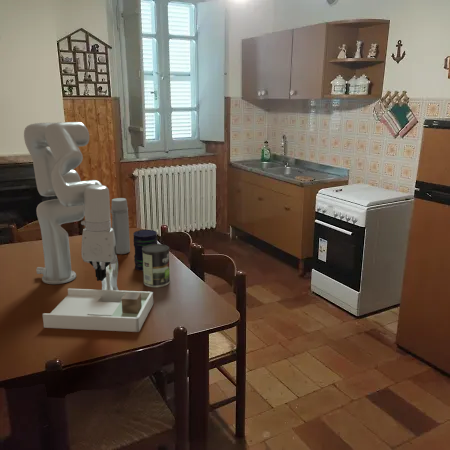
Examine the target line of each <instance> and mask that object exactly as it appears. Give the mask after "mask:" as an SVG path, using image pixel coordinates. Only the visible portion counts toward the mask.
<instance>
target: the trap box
mask: <svg viewBox="0 0 450 450" xmlns="http://www.w3.org/2000/svg"><path fill="white" fill-rule="evenodd" d="M126 292H131V293H141V303H142V307H141V309H140V311H139V312H138V314H130V313H122V297H123V296H124V295H125V293H126ZM154 304H155V303H154V291H142V290H141V291H140V290H139V291H137V290H119V289H118V290H102V289H95V288H94V289H90V288H70V287H69V288H67V294H66V296H65V297H64V299H62V300H61V301H60V302H59V303H58V304H57V306H55V308H54V309H52V311H51V312H50V313H45V312H44V313H42V321H43V328H44V329H45V328H47V329H68V330H85V331H87V330H89V331H107V332H108V331H110V332H111V331H112V332H115V331H116V332H132V333H139V332H140V331H141V329H142V327H143V325H144V324H145V323H144V322H145V321H146V319H147V317H148V315H149V313H150V311H151V309H152V308H153V305H154Z"/></svg>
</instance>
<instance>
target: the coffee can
mask: <svg viewBox="0 0 450 450" xmlns="http://www.w3.org/2000/svg"><path fill="white" fill-rule="evenodd" d="M142 253H143V271H142V272H143V285H144V286H146V287H149V288H162V287H165V286H167V285H169V284H170V283H171V280H170V279H171V278H170V277H171V276H170V275H171V273H170V246H168V245H167V244H162V243H158V244H151V245H147V246H144V247H143V248H142Z"/></svg>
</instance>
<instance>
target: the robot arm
mask: <svg viewBox="0 0 450 450" xmlns="http://www.w3.org/2000/svg"><path fill="white" fill-rule="evenodd" d="M23 140H24V144H25V146H26V148H27V151H28V153H29V155H30V157H31V160H32V164H33V169H34V170H33V171H34V177H35V183H36V189H37V191H38V193H39V195H40V196H42V197H55V196H56V197H57V198H54V199H49V200H44V201H42V202H40V203H39V204H37V207H36V210H35V211H36V216H37V220H38V223H39V227H40V233H41V240H42V248H43V249H42V250H43V259H44V267H42V266H37V267H36V270H35V271H36V274H38V275H39V274H40V275H42V276H41V279H42V280H41V281H42V282H43V283H44V284H49V285H61V284H65V283H67V284H68V283H70V282H71V281H74V280H75V279H76V277H77V273H76V272H75V271H74V270H72V262H71V261H72V260H71V251H70V249H71V248H70V240H69V233H68V231H66V229H65V228H64V227H62V225H63V224H68V223H74V222H79V221H81V222H80V224H81V225H82V226H84V228H83V230H82V235H81V258H82V260H83V262H84V263H87V264H90V265H91V266H92V267H93V269H94V270H95V277H96V281H98V282H102V281H103V280H104V278H105V277H106V267H107V266H108V265H109V264H115V263H116V262H117V259H118V257H117V258H116V255H117V256H118V254H117V248H116V240H115V235H114V231H113V228H112V220H111V206H110V205H111V204H110V202H111V201H110V199H111V198H110V189H109V187H107V185H103V184H102V182H100V181H99V180H96V179H90V180H81V179H82V178H81V177H80V174H79V173H78V171H77V170H75V169H76V168H78V167H79V166H80V165H81V164H82V162H83V160H84V157H83V156H84V155H83V153H82V151H81V150H80V147H85V146H87V145H88V144H89V142H90V132H89V129H88V127H87V126H86V125H85V124H84V123H83V122H81V121H67V122H66V121H64V122H61V121H60V122H59V121H58V122H37V123H36V122H35V123H31V124H29V125H27V126H26V127H25V128H24V131H23ZM83 219H84V220H83ZM100 262H101V265H100Z"/></svg>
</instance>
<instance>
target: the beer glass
mask: <svg viewBox="0 0 450 450" xmlns="http://www.w3.org/2000/svg"><path fill="white" fill-rule="evenodd" d="M116 258H117V262H116V263H115V264H109V265H108V266H107V267H106V277H105V278H104V280H103V281H101V290H119V288H118V275H119V261H118V260H119V259H118V254H117V255H116ZM100 265H101V262H100Z"/></svg>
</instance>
